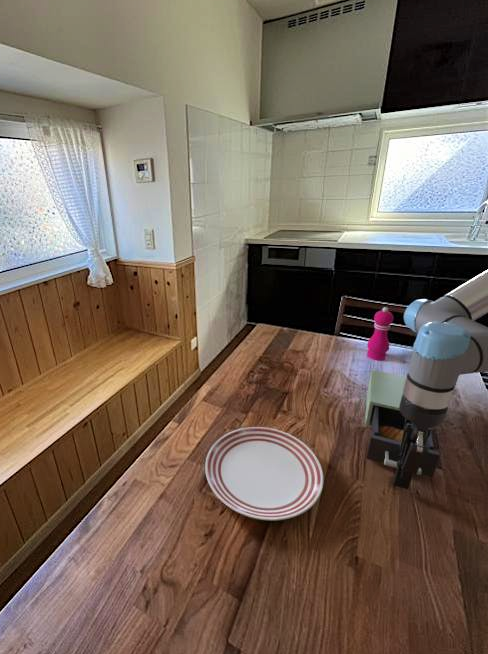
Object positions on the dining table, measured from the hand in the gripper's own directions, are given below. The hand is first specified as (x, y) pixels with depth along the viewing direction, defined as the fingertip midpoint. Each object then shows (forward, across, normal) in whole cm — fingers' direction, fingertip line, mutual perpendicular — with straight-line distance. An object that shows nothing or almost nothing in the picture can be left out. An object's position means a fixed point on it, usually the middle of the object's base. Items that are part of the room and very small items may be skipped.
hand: (400, 484), depth 75 cm
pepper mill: (+2, +61, +5) cm, 62 cm away
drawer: (+1, +11, 0) cm, 11 cm away
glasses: (+2, +32, +38) cm, 50 cm away
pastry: (0, +13, 0) cm, 13 cm away
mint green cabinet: (+2, +27, 0) cm, 27 cm away
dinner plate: (+2, -9, +29) cm, 30 cm away
